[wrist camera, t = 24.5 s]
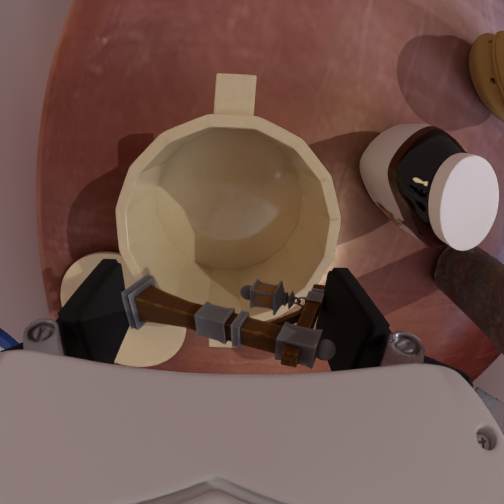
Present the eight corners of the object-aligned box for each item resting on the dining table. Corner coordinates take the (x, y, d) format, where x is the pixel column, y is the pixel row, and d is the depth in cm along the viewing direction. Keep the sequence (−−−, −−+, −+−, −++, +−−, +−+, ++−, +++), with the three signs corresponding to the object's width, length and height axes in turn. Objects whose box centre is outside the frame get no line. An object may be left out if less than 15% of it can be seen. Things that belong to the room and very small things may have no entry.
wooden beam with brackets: (341, 311, 12) (327, 388, 8) (183, 282, 14) (128, 332, 11) (348, 275, 11) (337, 348, 7) (179, 250, 14) (117, 295, 10)
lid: (82, 352, 32) (63, 389, 25) (52, 246, 26) (17, 275, 19) (191, 366, 33) (185, 410, 27) (184, 252, 27) (170, 290, 21)
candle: (419, 269, 30) (526, 381, 12) (452, 222, 28) (575, 308, 9) (444, 295, 32) (531, 391, 14) (474, 253, 30) (573, 334, 12)
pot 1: (156, 293, 29) (135, 346, 21) (152, 92, 21) (116, 76, 13) (293, 298, 30) (312, 352, 22) (318, 101, 22) (356, 88, 14)
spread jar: (338, 159, 24) (407, 181, 14) (411, 94, 22) (494, 89, 11) (399, 244, 28) (463, 299, 18) (459, 182, 26) (532, 212, 15)
